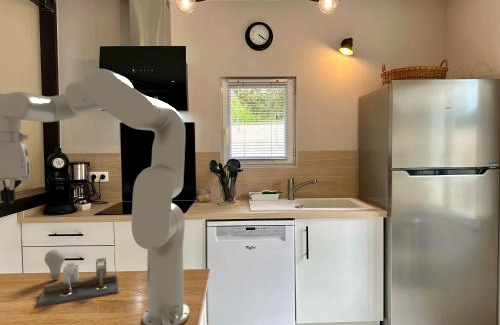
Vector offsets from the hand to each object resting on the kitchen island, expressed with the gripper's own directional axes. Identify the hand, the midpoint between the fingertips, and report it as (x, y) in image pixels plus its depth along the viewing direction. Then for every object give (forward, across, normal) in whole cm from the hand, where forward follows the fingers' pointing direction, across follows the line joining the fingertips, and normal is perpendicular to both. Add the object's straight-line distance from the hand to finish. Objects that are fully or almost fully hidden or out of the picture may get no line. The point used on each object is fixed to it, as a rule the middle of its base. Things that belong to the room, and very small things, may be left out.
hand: (8, 203), depth 89 cm
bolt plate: (+31, -17, -4) cm, 36 cm away
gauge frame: (+30, -17, -5) cm, 35 cm away
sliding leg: (+29, -14, -5) cm, 33 cm away
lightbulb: (+31, -8, -18) cm, 37 cm away
